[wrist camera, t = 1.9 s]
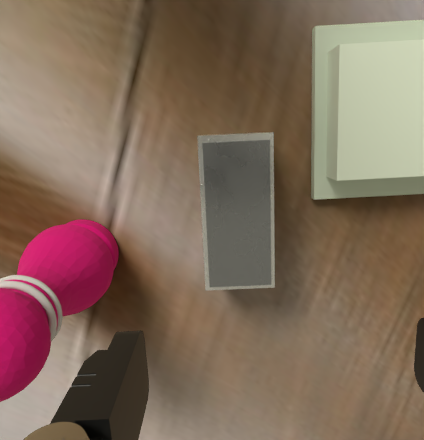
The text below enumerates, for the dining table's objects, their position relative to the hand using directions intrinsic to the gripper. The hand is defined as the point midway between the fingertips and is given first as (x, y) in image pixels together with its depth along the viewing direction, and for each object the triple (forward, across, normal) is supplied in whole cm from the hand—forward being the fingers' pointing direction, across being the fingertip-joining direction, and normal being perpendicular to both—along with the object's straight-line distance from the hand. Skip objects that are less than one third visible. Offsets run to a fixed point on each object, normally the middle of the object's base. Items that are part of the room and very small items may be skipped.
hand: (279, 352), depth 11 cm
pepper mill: (+24, +14, +4) cm, 28 cm away
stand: (+24, -19, -7) cm, 31 cm away
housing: (+24, 0, 0) cm, 24 cm away
